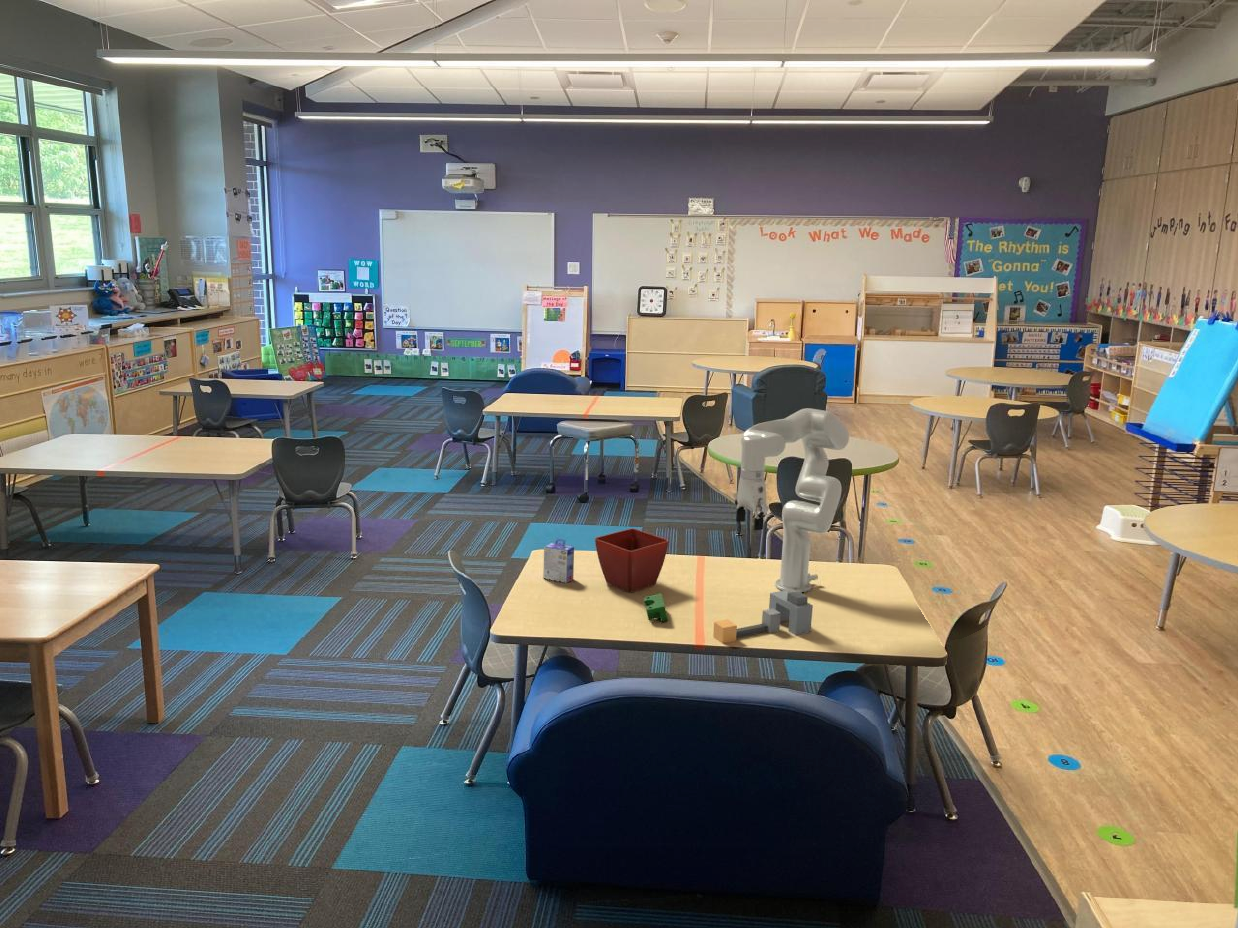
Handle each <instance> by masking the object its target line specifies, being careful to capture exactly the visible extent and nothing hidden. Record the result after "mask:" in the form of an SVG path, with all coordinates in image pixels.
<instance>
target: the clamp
mask: <svg viewBox="0 0 1238 928" xmlns="http://www.w3.org/2000/svg"><path fill="white" fill-rule="evenodd" d="M643 600H644V601H643V602H644V605H645V609H646V610H645V611H646V615H647V620H654V619H655V620H656V619H658V618H660V622H661V623H664V622H669V619H668V615H667V611H666V606H665V603H664V599H663V595H662V592H661V593H657V594H656V593H655V594H652V595H649V596H645V597H644V598H643Z"/></svg>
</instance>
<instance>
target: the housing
mask: <svg viewBox="0 0 1238 928" xmlns="http://www.w3.org/2000/svg"><path fill="white" fill-rule="evenodd" d="M808 599H809V597H808V596H807V594H806V595H805V594H803V593H800V592H798V591H796V592H787V591H785V590H784V591H782V590H779V591H774V592H770V593H769V604H768V609H775V610H777V611H778V612H780V613H781V616H780V623H782V622H786V621H788V632H789V633H790V634H793V635H795V636H798V635H802V634H803V633H804V634H808V633H811V632H812V621H813V619H812V618H813V604H811V603H809V602H808ZM807 632H808V633H807ZM804 634H803V635H804Z"/></svg>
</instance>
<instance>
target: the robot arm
mask: <svg viewBox="0 0 1238 928" xmlns="http://www.w3.org/2000/svg"><path fill="white" fill-rule="evenodd" d="M800 439H801V441H802V445H803V450H804V459H803V464H802V466H801V469H800V472H799V476H798V478H797V481H796V484H795V490H794V491H795V494H796V495H797V496H798V497H799V498H801V499H804V500H808V501H814V502H817V503H819V504H814V503H810V502H807V501H802V500H797V499H796V500H795V499H794V500H793V499H792V500H789V501H787V502H786V503H785V504H784V505H783V506H782V512H781V519H782V529H783V532H782V533H783V535H782V550H781V564H780V576H779V578H778V579H777V580H776V581H775V582H774V583H775V587H776V588H777V590H778V589H779V591H784V590H785V591H787V592H789V593H791V592H796V591H798V592H800V593H802V592H804V593H808V592H809V591H811V590H812V584H811V583H810V582H811V581H816V580H819V575H818V574H811V573H809V565H810V564H809V563H810V554H811V553H810V552H811V538H810V534H809V532H810V533H815V534H819V535H820V534H825V533H827V532H829V529H830V528H831V526H832V523H833V520H834V518H835V515H836V512H837V509H838V506H839V503H840V500H841V497H842V496H841V495H842V484H841V482H840V480H839V479H838V478H836V477H833V476H829V475H826V474H827V471H828V468H829V465H830V464H829V463H830V462H829V458H828V455H827V453H826V452H825V449H830V450H834V451H841V450H843V449H845V448H846V447H847V445H848V444H849V440H850V434H849V430H848V428H847V427H846V426H845V424H844V423H842V421H841V420H840V418H839V417H838V416H837V415H835V414H834V413H833V412H831V411H828V410H822V409H816V408H810V407H808V408H807V407H806V408H802V409H799V410H797V411H795V412H794V413H792V414H789V416H787V417H785V418H781V419H779V418H778V419H774V420H769V421H765V422H761V423H760V422H759V423H757V424H755V425H753V426H751V427H749V428H747V429H745V431H744V432H743V434H742V437H741V440H740V442H741V457H740V458H741V459H740V460H741V461H740V475H739V476H740V477H739V481H738V488H737V492H736V493H733V498H734V504H735V510H736V515H735V516H736V519H735V521H736V523H741V522H746V513H747V511H746V509H747V510H749V511H751V512H753V513H754V516H755V518H754V519H753V520H754V522H753V529H754V531H761V530H763V529H764V519H765V517H766V516H767V515H768V511H769V506H768V505H767V486H766V485H767V483H766V480H765V471H766V470H765V469H766V458H770V457H771V458H772V457H778V456H779V455H781V454H782V453H783V452H784V451H785V449H786V444H791V443H796V442H797V441H800ZM807 591H808V592H807ZM802 594H803V593H802Z"/></svg>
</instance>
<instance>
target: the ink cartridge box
mask: <svg viewBox="0 0 1238 928" xmlns="http://www.w3.org/2000/svg"><path fill="white" fill-rule="evenodd" d="M565 544H566V539H562V538H556V540H555V543H553V542H551V543H548V544H547V545H545V546H544V547H543V569H542V570H543V576H542V577H543V579H544V578H546V579H545V580H549V579H550V580H549V581H554V580H556V581H555V582H559V581H561V582H560V583H564V582H565V584H567V583H569V582H570V580H571V581H573V580H574V572H575V571H574V569H575V568H574V563H575V546H570V545H565ZM572 579H573V580H572Z"/></svg>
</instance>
